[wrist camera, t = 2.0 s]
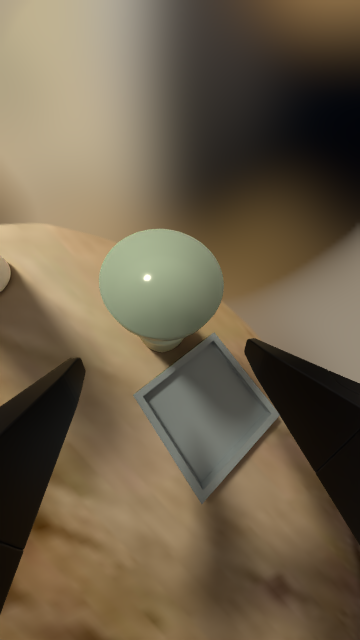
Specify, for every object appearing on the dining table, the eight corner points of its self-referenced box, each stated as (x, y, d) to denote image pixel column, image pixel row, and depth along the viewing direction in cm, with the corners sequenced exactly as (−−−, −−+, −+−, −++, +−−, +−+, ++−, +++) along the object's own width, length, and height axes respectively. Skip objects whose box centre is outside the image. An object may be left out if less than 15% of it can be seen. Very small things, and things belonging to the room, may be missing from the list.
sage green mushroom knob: (198, 335, 20) (247, 292, 9) (155, 367, 18) (146, 367, 7) (168, 295, 21) (176, 213, 10) (124, 322, 20) (74, 260, 8)
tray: (270, 411, 18) (279, 414, 17) (198, 491, 15) (201, 504, 14) (210, 334, 20) (214, 332, 19) (135, 393, 17) (133, 395, 16)
